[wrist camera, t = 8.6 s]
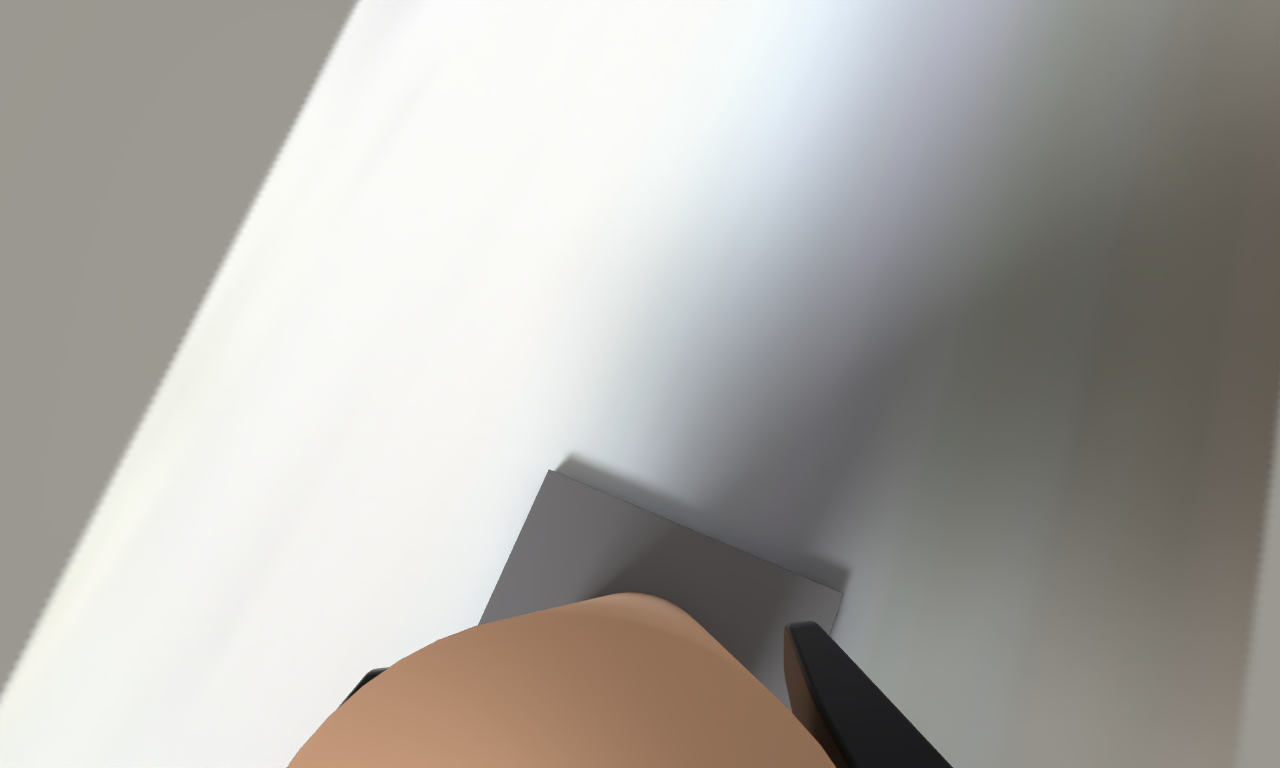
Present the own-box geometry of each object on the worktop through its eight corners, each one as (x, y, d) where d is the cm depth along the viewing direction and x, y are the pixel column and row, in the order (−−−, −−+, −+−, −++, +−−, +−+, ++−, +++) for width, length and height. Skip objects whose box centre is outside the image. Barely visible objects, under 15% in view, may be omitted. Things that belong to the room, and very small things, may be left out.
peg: (739, 777, 16) (1008, 1410, 4) (547, 808, 16) (183, 1557, 4) (706, 579, 18) (827, 568, 5) (527, 607, 18) (202, 666, 5)
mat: (724, 932, 16) (727, 945, 15) (413, 777, 17) (405, 784, 16) (837, 593, 18) (843, 594, 17) (552, 473, 19) (548, 469, 18)
